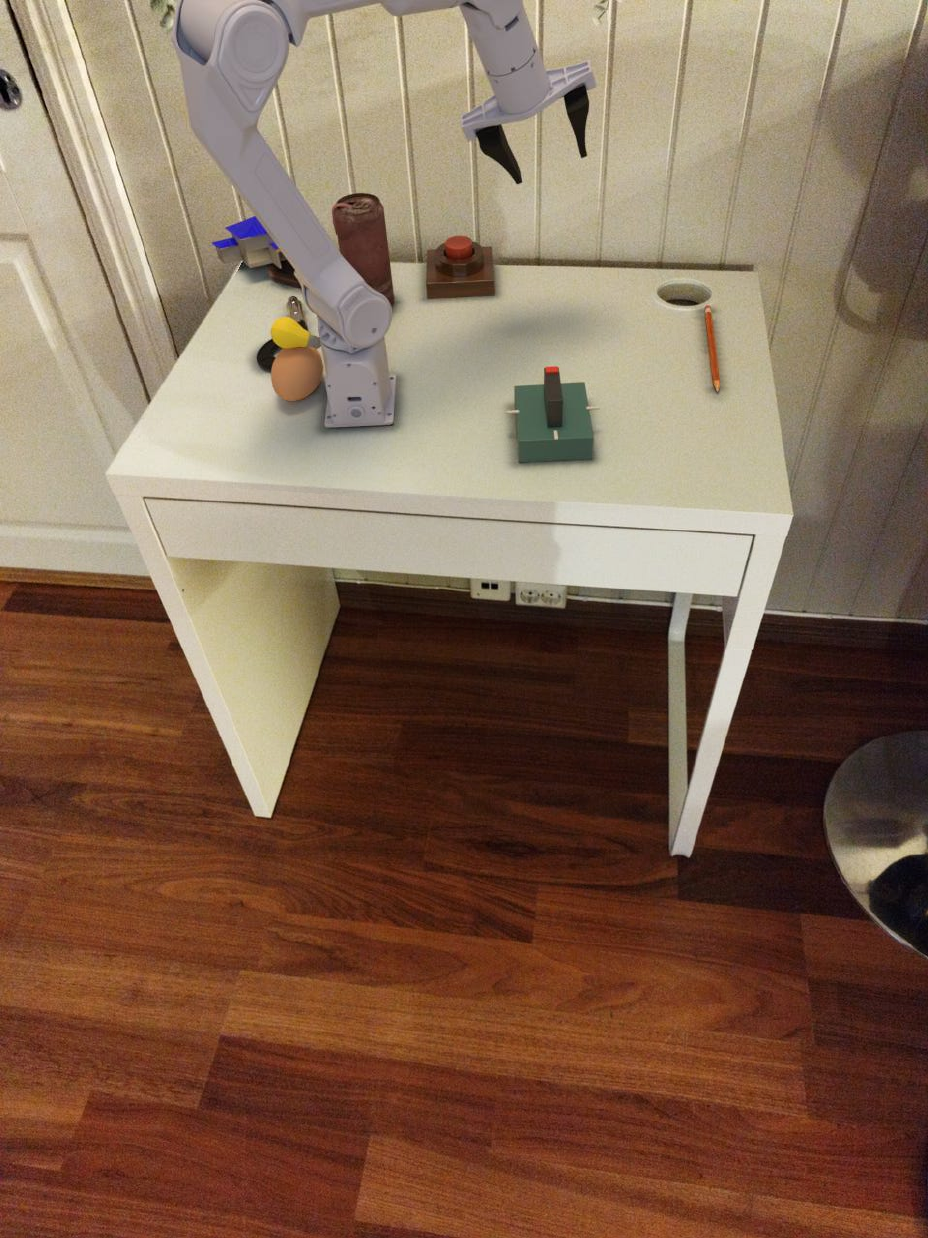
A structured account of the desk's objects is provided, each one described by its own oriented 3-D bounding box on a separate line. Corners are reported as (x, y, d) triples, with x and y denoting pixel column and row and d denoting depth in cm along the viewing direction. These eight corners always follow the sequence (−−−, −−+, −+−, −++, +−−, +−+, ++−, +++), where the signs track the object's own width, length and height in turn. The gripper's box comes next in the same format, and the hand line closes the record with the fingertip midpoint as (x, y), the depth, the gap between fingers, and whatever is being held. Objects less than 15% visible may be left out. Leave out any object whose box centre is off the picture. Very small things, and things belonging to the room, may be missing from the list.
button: (472, 260, 124) (472, 247, 123) (445, 261, 124) (444, 249, 123) (472, 246, 127) (471, 234, 125) (445, 248, 127) (444, 235, 125)
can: (342, 299, 126) (325, 196, 116) (388, 289, 127) (375, 186, 117) (352, 322, 123) (336, 218, 112) (399, 312, 124) (387, 208, 113)
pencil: (710, 309, 120) (711, 305, 120) (720, 394, 109) (721, 389, 108) (704, 309, 120) (704, 304, 120) (713, 394, 109) (714, 389, 108)
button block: (494, 295, 125) (493, 267, 122) (427, 298, 126) (424, 270, 122) (492, 260, 131) (491, 233, 128) (428, 264, 131) (425, 236, 128)
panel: (602, 459, 102) (604, 436, 100) (508, 463, 103) (508, 440, 100) (592, 402, 109) (594, 379, 107) (505, 406, 109) (504, 383, 107)
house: (236, 279, 124) (225, 234, 121) (215, 258, 135) (204, 217, 132) (317, 260, 127) (308, 216, 124) (290, 241, 138) (281, 201, 135)
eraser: (280, 254, 132) (282, 266, 133) (262, 267, 129) (265, 279, 131) (346, 271, 128) (348, 283, 129) (329, 285, 126) (331, 297, 127)
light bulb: (271, 341, 110) (277, 310, 109) (320, 356, 111) (327, 326, 109) (264, 345, 107) (271, 314, 106) (315, 361, 108) (322, 331, 106)
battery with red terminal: (562, 426, 102) (563, 398, 99) (547, 427, 102) (547, 398, 99) (557, 393, 105) (558, 364, 103) (543, 394, 106) (544, 365, 103)
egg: (313, 324, 110) (287, 368, 105) (340, 363, 114) (317, 407, 109) (276, 337, 113) (250, 381, 108) (304, 375, 117) (280, 418, 112)
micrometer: (258, 373, 115) (269, 388, 117) (309, 346, 114) (319, 362, 116) (249, 315, 125) (259, 330, 127) (295, 289, 124) (305, 305, 126)
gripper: (573, 1, 95) (607, 116, 106) (441, 62, 99) (487, 166, 110) (582, 42, 91) (616, 157, 103) (446, 103, 96) (493, 206, 107)
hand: (550, 164), depth 106 cm, fingers open, 7 cm apart
